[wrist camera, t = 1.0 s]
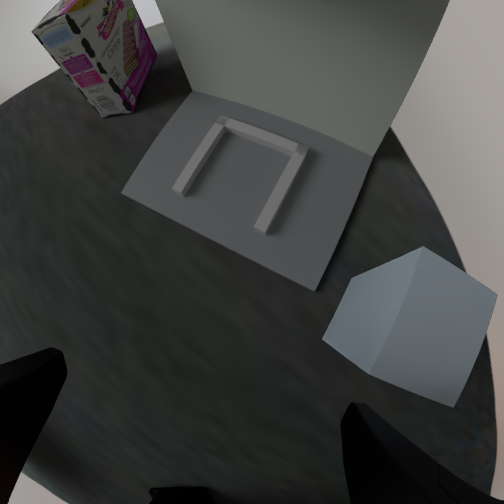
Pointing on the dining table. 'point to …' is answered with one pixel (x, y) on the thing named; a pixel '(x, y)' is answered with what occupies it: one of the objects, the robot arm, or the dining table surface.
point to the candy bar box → (100, 50)
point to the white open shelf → (280, 120)
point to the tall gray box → (414, 324)
